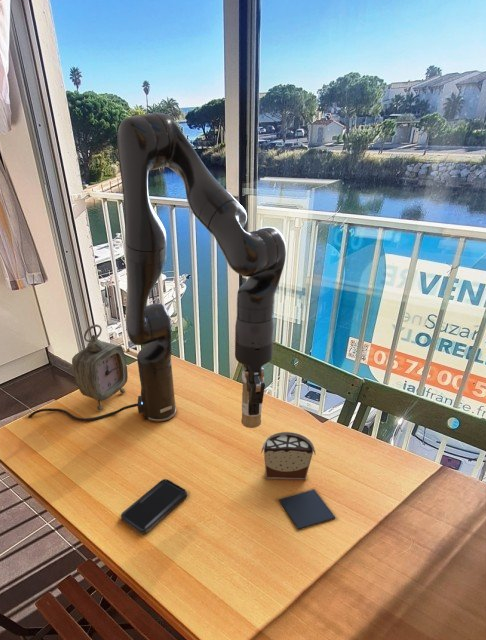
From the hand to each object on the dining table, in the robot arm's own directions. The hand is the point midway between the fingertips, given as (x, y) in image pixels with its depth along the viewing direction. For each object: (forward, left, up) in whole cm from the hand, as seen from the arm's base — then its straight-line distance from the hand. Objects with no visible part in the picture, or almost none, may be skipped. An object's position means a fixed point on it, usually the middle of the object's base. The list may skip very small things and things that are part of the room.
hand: (251, 407), depth 99 cm
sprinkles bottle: (0, 0, -4) cm, 4 cm away
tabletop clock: (-39, +38, -21) cm, 59 cm away
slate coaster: (+11, -12, -20) cm, 26 cm away
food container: (+9, +1, -21) cm, 22 cm away
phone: (-23, -8, -20) cm, 32 cm away
